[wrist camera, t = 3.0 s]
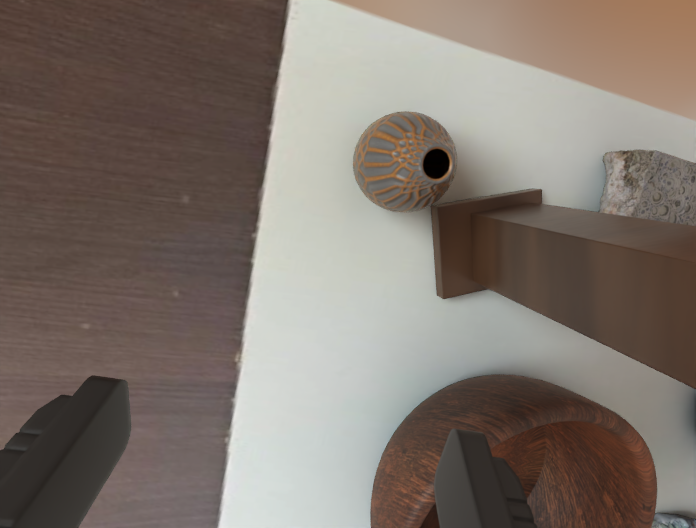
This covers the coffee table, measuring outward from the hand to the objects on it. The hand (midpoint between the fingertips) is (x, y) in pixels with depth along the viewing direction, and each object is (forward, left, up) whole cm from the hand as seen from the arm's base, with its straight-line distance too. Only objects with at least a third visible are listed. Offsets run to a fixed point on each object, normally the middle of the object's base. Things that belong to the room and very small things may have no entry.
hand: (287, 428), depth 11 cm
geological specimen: (-9, +37, -24) cm, 45 cm away
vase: (-9, +10, -24) cm, 27 cm away
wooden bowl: (+18, +26, -24) cm, 39 cm away
